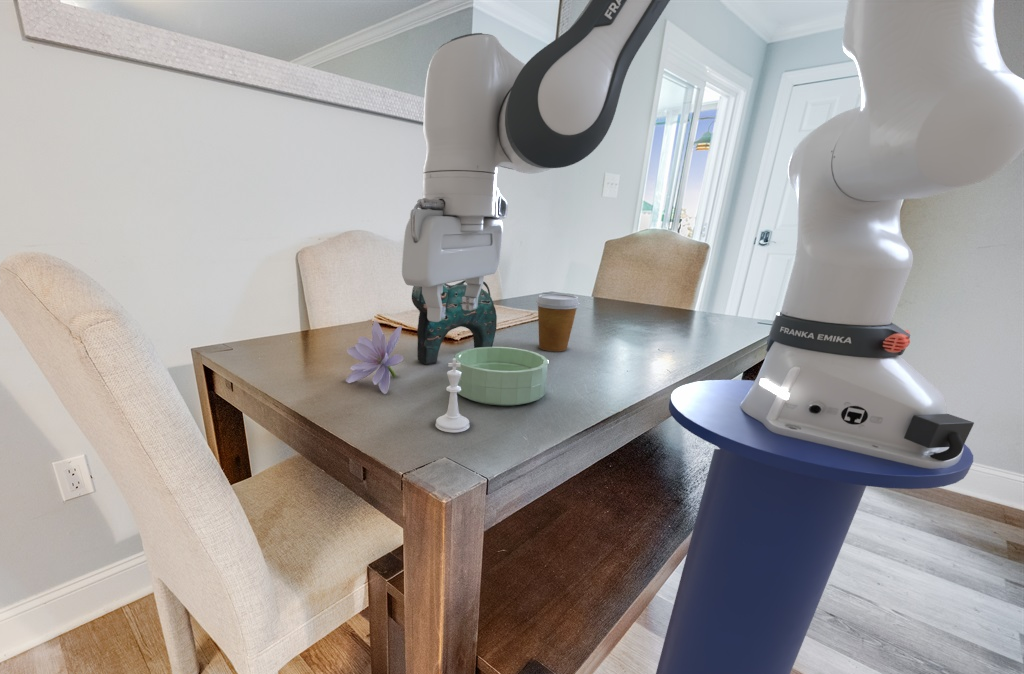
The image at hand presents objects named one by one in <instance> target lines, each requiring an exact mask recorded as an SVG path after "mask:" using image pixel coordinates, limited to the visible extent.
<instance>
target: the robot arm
mask: <svg viewBox="0 0 1024 674" xmlns="http://www.w3.org/2000/svg"><path fill="white" fill-rule="evenodd" d="M670 2H671V0H588V1H587V3H586V4H585V6H584V8H583V9H582V11H581V13H580V14H579V16H578V17H577V19H576V20H575V21H574V22H573V24H572V25H571V26H570V27H569V28H568V30H566V31H565V32H564V33H563V34H561V35H559V36H558V37H557V38H556V39H554V40H553V41H551V42H550V43H549V44H547V45H546V46H544V47H543V48H542V49H540V50H539V51H538V52H536V53H535V54H534V55H533V56H532V57H531V58H530V59H529V60H528V61H527V62H526V63H524V62H522V60H519V59H518V58H516V57H515V56H514V55H513V54H512V53H510V51H508V50H507V49H506V48H505V47H504V46H503V45H502V43H500V40H499V39H498V38H497V37H496V36H494V35H493V34H489V33H482V32H474V33H468V34H463V35H459V36H457V37H454V38H452V39H450V40H449V41H447V42H445V43H443V44H442V45H441V46H440V47H439V48H438V49H437V50H436V51H435V52H434V53H433V55H432V57H431V60H430V61H429V65H428V67H427V72H426V79H425V85H424V97H423V98H424V100H423V101H424V102H423V120H422V121H423V126H422V128H423V129H422V130H423V138H424V142H425V150H426V151H425V160H424V164H423V168H422V197H420V198H418V200H417V201H416V203H415V204H414V206H413V208H412V209H411V210H410V213H409V219H408V221H407V223H406V225H405V231H404V236H403V245H402V259H401V260H402V261H401V277H402V279H403V281H404V283H405V285H406V286H412V287H413V286H419V287H422V295H423V297H424V300H425V303H426V305H427V318H428V320H429V321H432V322H439V321H442V320H444V319H445V312H446V306H442V301H441V295H440V294H442V293H443V284H450V283H451V284H452V283H456V282H462V281H464V280H466V282H465V284H466V285H467V287H466V292H465V296H464V297H462V309H463V310H468V311H472V310H475V309H477V307H478V297H479V294H480V291H481V288H482V289H483V286H484V284H483V281H484V277H485V276H491V275H495V273H496V272H497V270H498V267H499V265H500V261H501V254H502V253H501V252H502V245H503V235H504V224H503V221H502V220H503V219H506V218H507V215H508V201H507V199H506V198H505V197H504V196H503V195H502V193H501V192H500V189H499V186H497V178H498V169H499V167H501V168H505V169H507V170H508V169H509V170H513V171H516V172H518V173H523V174H528V175H531V174H539V173H544V172H547V171H549V170H552V169H559V168H560V169H562V168H566V167H569V166H572V165H575V164H578V163H579V162H581V161H582V160H584V159H586V158H587V157H588V156H589V155H591V154H592V153H593V152H594V151H595V150H596V149H597V148H598V147H599V145H600V144H601V143H602V141H603V140H604V139H605V137H606V135H607V134H608V132H609V130H610V127H611V125H612V123H613V120H614V117H615V114H616V111H617V108H618V104H619V100H620V96H621V92H622V88H623V85H624V83H625V79H626V76H627V74H628V72H629V69H630V66H631V65H632V62H633V61H634V59H635V57H636V55H637V53H638V52H639V50H640V48H641V47H642V45H643V44H644V43H645V41H646V39H647V37H648V36H649V34H651V32H652V30H653V28H654V26H655V25H656V23H657V22H658V20H659V19H660V17H661V15H662V14H663V12H664V10H665V9H666V8H667V5H669V3H670ZM996 32H997V31H996V25H995V0H847V2H846V9H845V15H844V22H843V30H842V36H841V46H842V49H843V52H844V53H845V54H846V56H848V57H849V58H851V59H852V60H853V61H854V63H855V65H856V68H857V72H858V76H859V81H860V87H861V104H860V105H861V106H857V107H853V108H851V109H848V110H845V111H843V112H840V113H838V114H837V115H834V116H833V117H831V118H829V119H828V120H827V121H825V122H823V123H821V125H819V126H817V127H816V128H814V129H813V130H812V131H810V132H809V133H808V134H806V136H804V137H803V138H802V140H801V141H799V143H798V144H797V145H796V147H795V149H794V150H793V152H792V153H791V155H790V159H789V162H788V168H787V175H788V181H789V183H790V185H791V187H792V189H793V190H794V193H795V195H796V202H797V203H796V204H797V206H796V207H797V243H796V250H795V256H794V261H793V266H792V268H791V273H790V277H789V281H788V284H787V288H786V292H785V296H784V299H783V303H782V305H781V310H780V311H777V313H776V314H775V318H774V320H773V321H772V323H771V326H770V330H769V334H768V338H767V340H766V341H767V342H766V349H765V351H766V352H767V353H766V355H765V357H764V361H763V363H762V364H761V367H760V369H759V371H758V374H757V376H756V378H755V380H754V381H755V382H754V384H753V385H752V387H751V389H750V391H749V392H748V394H747V395H746V397H745V398H744V400H743V401H742V402H741V404H740V406H741V409H742V410H743V411H744V412H745V413H747V414H748V415H749V416H751V417H753V418H755V419H757V420H758V421H760V422H762V423H763V424H764V426H765V427H766V428H767V429H768V430H770V431H771V432H773V433H776V434H780V435H784V436H788V437H793V438H797V439H801V440H805V441H810V442H814V443H818V444H823V445H827V446H831V447H835V448H840V449H844V450H848V451H853V452H857V453H861V454H865V455H870V456H874V457H878V458H883V459H887V460H891V461H896V462H900V463H904V464H908V465H913V466H917V467H922V468H927V469H940V468H947V467H950V466H953V465H955V464H956V463H958V462H959V460H960V459H961V456H962V453H963V449H964V447H963V445H964V444H965V443H966V441H967V439H968V437H969V435H970V433H971V431H972V429H973V426H974V424H975V422H974V421H971V420H969V419H965V418H962V417H959V416H956V415H954V414H953V415H952V414H950V413H948V406H947V401H946V399H945V396H944V394H943V393H942V391H941V390H939V389H938V388H937V387H936V386H935V385H933V384H932V382H930V381H929V380H928V379H926V377H925V376H923V375H922V374H921V373H920V372H919V371H918V370H916V369H915V368H914V367H913V366H912V365H911V364H910V363H909V362H907V361H906V360H905V359H904V358H903V357H902V356H903V354H904V353H905V351H906V349H907V348H908V346H909V345H910V343H911V340H910V337H911V332H910V331H909V330H908V329H905V330H904V329H903V328H901V327H899V326H898V325H897V324H895V323H893V319H894V316H895V313H896V311H897V308H898V305H899V303H900V300H901V298H902V295H903V292H904V290H905V286H906V284H907V281H908V278H909V276H910V273H911V271H912V268H913V266H914V254H913V251H912V249H911V247H910V246H909V244H908V243H907V242H906V241H905V239H904V237H903V234H902V227H901V206H902V201H903V200H914V199H915V200H916V199H917V200H918V199H926V198H927V199H928V198H931V197H936V196H940V195H943V194H946V193H950V192H953V191H956V190H960V189H963V188H966V187H969V186H972V185H975V184H977V183H982V182H984V181H986V180H987V179H990V178H991V177H994V176H995V175H996V174H998V173H1000V172H1001V171H1003V170H1004V169H1005V168H1007V167H1008V166H1009V165H1010V164H1011V163H1012V162H1013V161H1015V160H1016V159H1017V158H1018V157H1019V156H1020V154H1022V152H1023V150H1024V79H1023V78H1022V77H1020V76H1018V75H1016V73H1014V72H1012V71H1011V70H1010V69H1009V67H1008V66H1007V65H1006V62H1005V61H1004V58H1003V56H1002V54H1001V51H1000V47H999V44H998V43H999V42H998V38H997V33H996ZM501 219H502V220H501Z"/></svg>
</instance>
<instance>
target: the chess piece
mask: <svg viewBox="0 0 1024 674" xmlns="http://www.w3.org/2000/svg"><path fill="white" fill-rule="evenodd" d="M447 367H448V368H452V369H451V370H448V371H447V372H446V376H447V378H448V382H449V385H447V386H446V388H445V390H446V392H449V400H448V406H447V411H446V413H444V414H443V415H441V416H439V417H437V418H436V420H435V428H437V429H438V430H440V431H441V432H445V433H454V434H455V433H463V432H466V431H467V430H469V429H470V420H469V418H468V417H466V416H463V415H462V414H461V413H460V411H459V404H458V393H457V392H460V391H461V387H459V386H457V385H458V382H459V379H460V377H461V372H460V371H458V370H456V367H461V363H456V359H455V358H452V362H448V363H447Z"/></svg>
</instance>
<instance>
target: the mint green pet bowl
mask: <svg viewBox="0 0 1024 674" xmlns="http://www.w3.org/2000/svg"><path fill="white" fill-rule="evenodd" d="M454 358H455V359H456V363H461V367H456V370H458V371H460V372H461V377H460V379H459V382H458V385H457V386H459V387H461V391H460V392H457V395H459V396H461V397H463V398H466V399H468V400H470V401H473V402H476V403H480V404H484V405H491V406H500V407H501V406H506V407H507V406H519V405H525V404H530V403H532V402H535V401H538V400H541V398H543V397H544V396H545V394H546V388H547V387H546V386H547V380H548V379H547V378H548V377H547V376H548V369H549V359H548V358H547V357H546V356H545V355H542V354H540V353H538V352H536V351H533V350H527V349H523V348H516V347H507V346H493V347H479V348H474V347H472V348H466V349H463V350H460V351H459V352H457V353H456V354H455V356H454Z"/></svg>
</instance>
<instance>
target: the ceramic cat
mask: <svg viewBox="0 0 1024 674" xmlns="http://www.w3.org/2000/svg"><path fill="white" fill-rule="evenodd" d="M483 286H485V288H486V290H484V288H483V287H482V288H481V291H480V294H479V297H478V307H477V309H475V310H472V311H468V310H463V309H462V297H464V296H465V292H466V287H467V284H466V280H461V281H459V282H457V283H455V284H452V285H451V284H449V283H447V284H443V293H442V294H440V295H441V301H442V306H446V312H445V319H444V320H442V321H439V322H432V321H429V320H428V318H427V305H426V303H425V300H424V297H423V295H422V287H419V286H412V290H411V301H412V304H413V306H414V307H415V308H416V309H417V310H418V312H419V315H418V320H417V321H418V322H417V330H416V335H417V349H416V350H417V351H416V353H417V361H418V362H419V363H421V364H422V365H426V366H428V365H434V364H437V363H438V358H439V357H438V356H439V353H440V349H441V345H442V343H443V342H444V340H445V338H446V336H447V335H448V333H449V332H451V331H452V330H455V329H458V328H460V327H461V328H465V329H468V330H469V331H470V332H471V334H472V340H473V348H479V347H494V341H495V338H496V337H495V336H496V332H497V326H498V325H497V323H498V322H497V320H498V315H497V310H496V307H495V304H494V301H493V299H492V296H491V291H490V287H489V285H488V284H487V283H486V282H485V280H483Z"/></svg>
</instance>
